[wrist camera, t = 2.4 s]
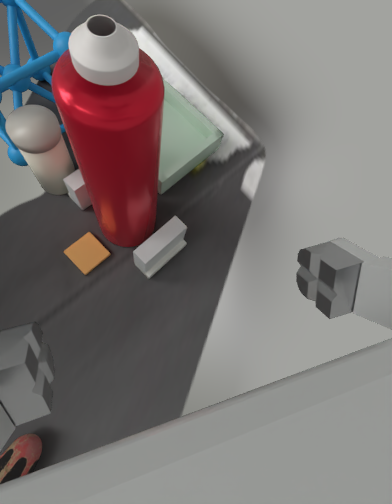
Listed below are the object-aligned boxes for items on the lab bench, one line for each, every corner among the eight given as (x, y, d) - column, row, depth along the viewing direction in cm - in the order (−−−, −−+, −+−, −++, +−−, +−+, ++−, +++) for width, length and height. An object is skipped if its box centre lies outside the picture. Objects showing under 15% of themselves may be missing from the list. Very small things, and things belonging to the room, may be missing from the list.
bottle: (166, 220, 32) (195, 33, 13) (129, 258, 30) (101, 102, 12) (127, 187, 33) (101, -39, 14) (87, 222, 31) (-3, 17, 12)
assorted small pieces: (6, 191, 31) (-39, 138, 23) (157, 92, 37) (160, 25, 30) (116, 308, 29) (106, 292, 21) (255, 182, 35) (285, 135, 28)
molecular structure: (22, 174, 32) (-30, 98, 22) (-39, 109, 33) (-113, 10, 23) (102, 124, 35) (86, 38, 25) (44, 66, 36) (8, -37, 27)
